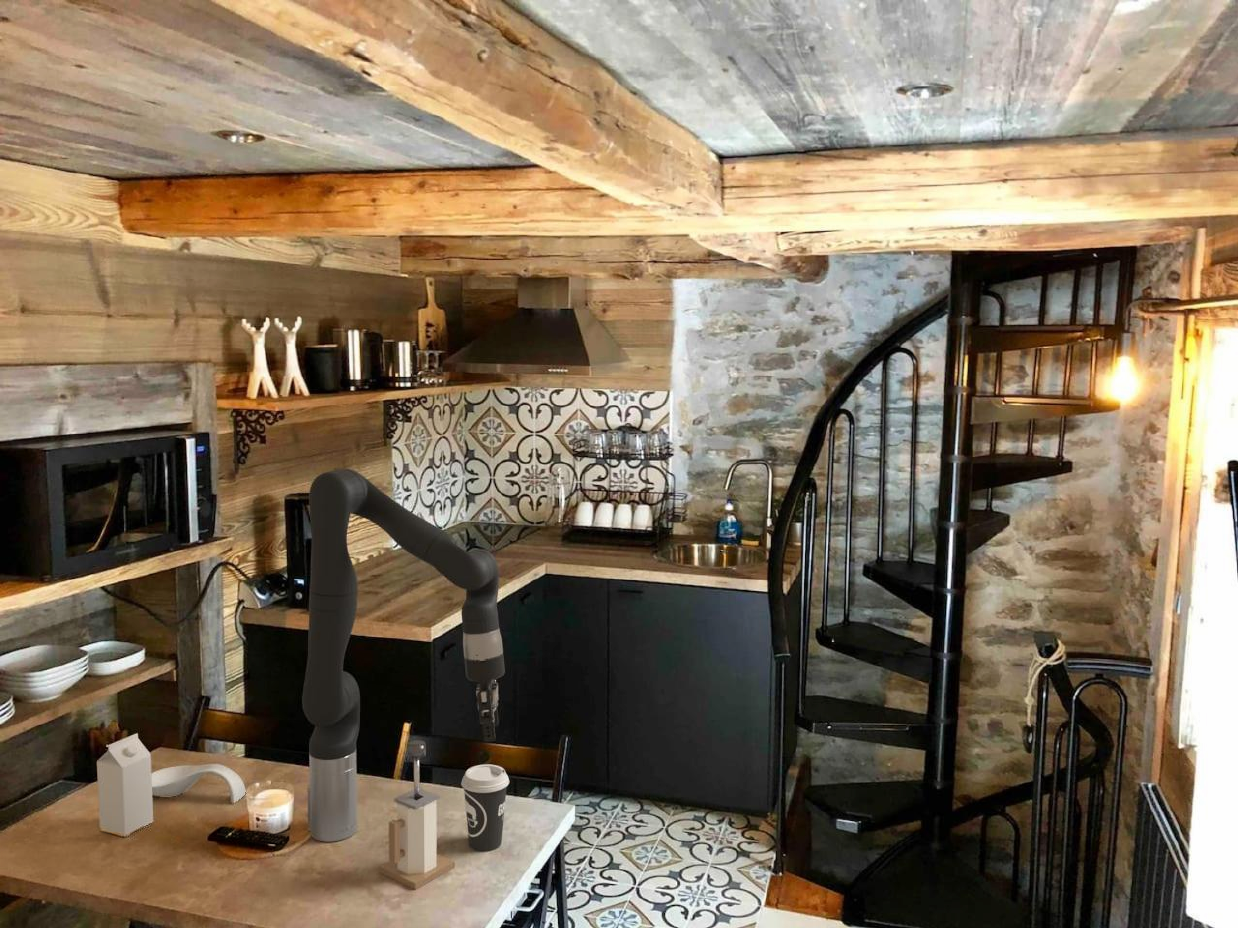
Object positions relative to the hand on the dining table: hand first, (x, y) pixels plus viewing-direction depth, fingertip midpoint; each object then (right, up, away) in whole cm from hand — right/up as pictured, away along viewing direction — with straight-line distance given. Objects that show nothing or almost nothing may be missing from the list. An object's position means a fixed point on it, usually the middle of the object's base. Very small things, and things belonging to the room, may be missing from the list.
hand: (491, 733), depth 194 cm
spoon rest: (-70, -21, +27) cm, 78 cm away
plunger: (-13, -13, -6) cm, 20 cm away
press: (-14, -25, -5) cm, 29 cm away
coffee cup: (-2, -24, +6) cm, 25 cm away
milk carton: (-77, -23, +10) cm, 81 cm away
